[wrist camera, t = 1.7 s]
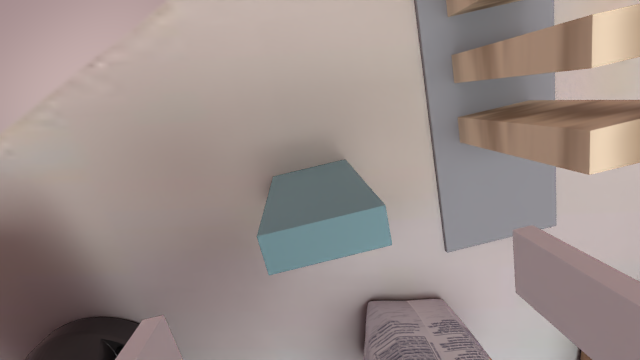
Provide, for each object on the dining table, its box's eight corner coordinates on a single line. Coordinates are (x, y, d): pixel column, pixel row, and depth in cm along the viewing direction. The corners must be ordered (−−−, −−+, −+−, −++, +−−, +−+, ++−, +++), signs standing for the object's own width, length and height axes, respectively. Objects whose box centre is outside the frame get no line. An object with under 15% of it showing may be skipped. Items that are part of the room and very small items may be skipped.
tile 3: (454, 83, 27) (591, 68, 15) (451, 55, 26) (592, 14, 14) (528, 65, 27) (727, 36, 15) (527, 37, 27) (734, -19, 14)
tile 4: (459, 142, 29) (589, 174, 16) (457, 117, 28) (590, 130, 15) (530, 125, 29) (712, 144, 16) (529, 100, 28) (718, 99, 16)
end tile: (279, 200, 29) (268, 275, 16) (273, 176, 28) (256, 236, 16) (349, 182, 29) (392, 244, 17) (345, 159, 29) (385, 205, 16)
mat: (445, 250, 32) (447, 252, 32) (401, -110, 23) (402, -113, 23) (553, 224, 32) (556, 225, 32) (548, -142, 24) (552, -146, 23)
